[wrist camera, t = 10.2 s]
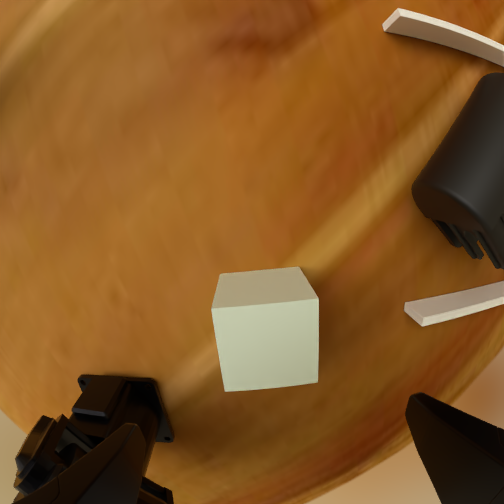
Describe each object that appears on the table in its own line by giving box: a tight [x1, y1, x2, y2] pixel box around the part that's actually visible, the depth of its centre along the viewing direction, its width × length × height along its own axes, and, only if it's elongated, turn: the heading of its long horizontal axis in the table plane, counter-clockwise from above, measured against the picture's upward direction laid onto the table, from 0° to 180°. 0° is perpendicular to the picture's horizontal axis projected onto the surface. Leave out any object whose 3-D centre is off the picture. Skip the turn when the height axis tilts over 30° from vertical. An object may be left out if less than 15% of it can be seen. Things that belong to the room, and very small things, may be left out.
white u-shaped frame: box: [382, 8, 504, 326], centre depth 14 cm, size 19×13×3 cm
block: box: [211, 267, 319, 392], centre depth 15 cm, size 4×4×5 cm
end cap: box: [412, 73, 504, 269], centre depth 13 cm, size 10×7×7 cm
